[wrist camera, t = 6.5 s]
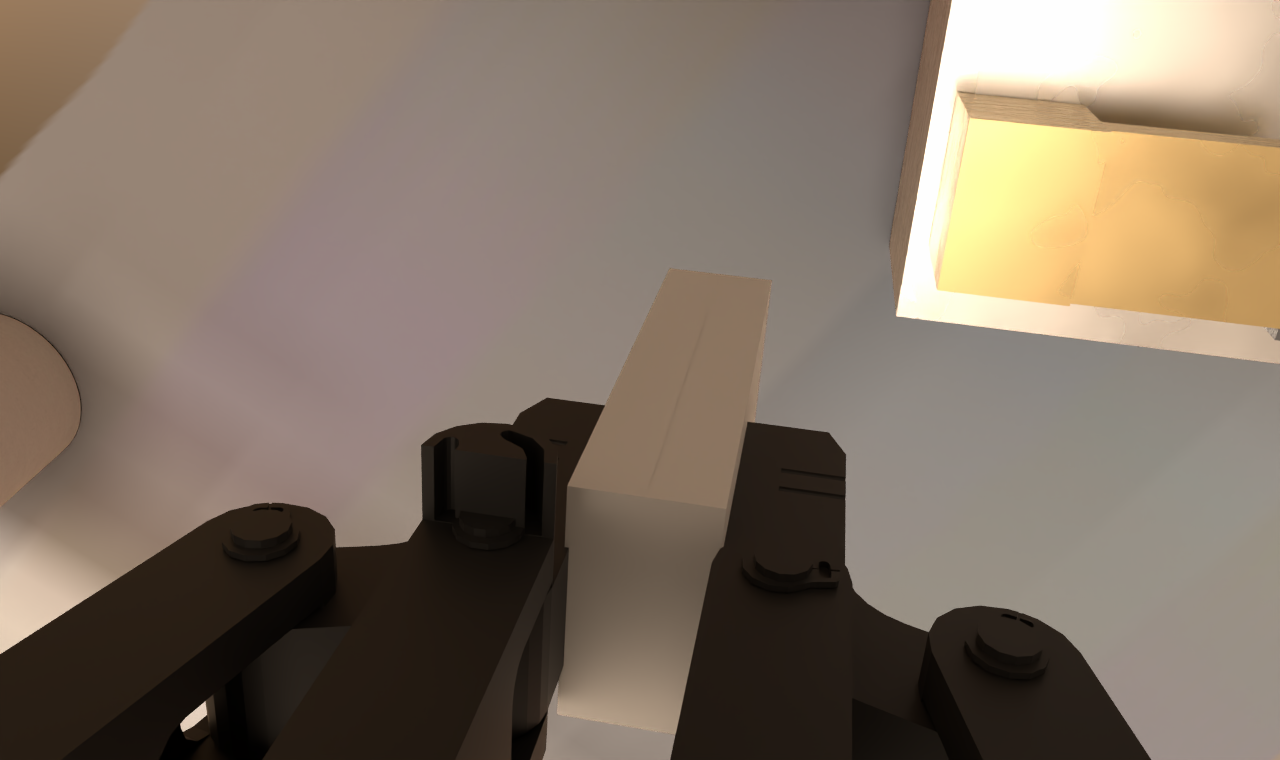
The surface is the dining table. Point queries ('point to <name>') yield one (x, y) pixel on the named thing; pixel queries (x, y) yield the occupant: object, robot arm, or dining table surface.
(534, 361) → the dining table surface
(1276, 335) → the strap
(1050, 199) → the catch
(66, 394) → the coffee cup
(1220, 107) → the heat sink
